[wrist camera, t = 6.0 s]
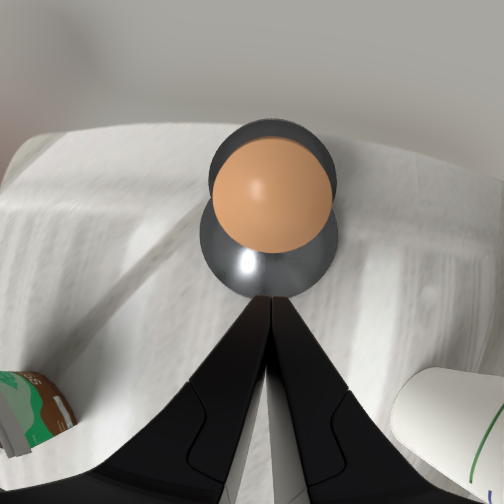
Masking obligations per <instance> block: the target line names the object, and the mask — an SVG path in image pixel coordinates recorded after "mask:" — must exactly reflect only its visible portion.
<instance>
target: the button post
mask: <svg viewBox="0 0 504 504" xmlns="http://www.w3.org/2000/svg"><path fill="white" fill-rule="evenodd" d="M265 136H279V137H285V138H289V139H292V140H294V141H296V142H298V143H300V144H302V145H303V146H305V147H306V148H307V149H308V150H310V151H311V152H312V154H313V155H314V156H315V157H316V158H317V160H318V161H319V163H320V164H321V166H322V167H323V169H324V170H325V172H326V174H327V176H328V179H329V181H330V185H331V190H332V203H333V201H334V198H335V193H336V186H337V178H336V170H335V166H334V163H333V160H332V158H331V156H330V154H329V152H328V150H327V149H326V148H325V146H324V145H323V144H322V142H321V141H320V140H319V139H318V138H317V137H316V136H315V135H314V134H312V133H311V132H310V131H308V130H307V129H306V128H304V127H302V126H301V125H298V124H296V123H294V122H291V121H287V120H283V119H262V120H257V121H254V122H251V123H248V124H246V125H244V126H242V127H240V128H239V129H237V130H236V131H235V132H233V133H232V134H231V135H230V136H229V137H228V138H227V139H226V140H225V141H224V142H223V143H222V144H221V145H220V147H219V148H218V150H217V151H216V153H215V155H214V157H213V160H212V162H211V165H210V170H209V180H208V182H209V191H210V196H211V198H210V200H209V201H208V203H207V205H206V207H205V209H204V212H203V215H202V218H201V223H200V244H201V249H202V252H203V255H204V258H205V260H206V262H207V264H208V266H209V268H210V269H211V270H212V272H213V273H214V275H215V276H216V277H217V278H218V279H219V280H220V281H221V282H222V283H223V284H224V285H225V286H227V287H228V288H229V289H230V290H232V291H234V292H235V293H237V294H239V295H242V296H244V297H246V298H250V299H252V298H253V297H254V296H255V295H269V296H270V297H272V296H286V297H288V298H292V297H294V296H296V295H299V294H301V293H302V292H304V291H306V290H307V289H309V288H310V287H311V286H313V285H314V284H315V283H316V282H318V281H319V279H320V278H321V277H322V276H323V275H324V274H325V272H326V271H327V270H328V268H329V266H330V264H331V262H332V260H333V258H334V255H335V252H336V248H337V242H338V229H337V222H336V218H335V215H334V212H333V210H332V208H331V211H330V214H329V217H328V220H327V221H326V223H325V225H324V227H323V228H322V230H321V231H320V232H319V233H318V234H317V235H316V236H315V237H314V238H313V239H312V240H311V241H309V242H308V243H306V244H305V245H303V246H301V247H299V248H297V249H294V250H291V251H287V252H281V253H265V252H259V251H255V250H252V249H249V248H247V247H245V246H243V245H241V244H239V243H238V242H236V241H235V240H234V239H233V238H231V237H230V236H229V235H228V234H227V233H226V232H225V230H224V229H223V228H222V226H221V225H220V223H219V221H218V219H217V216H216V214H215V211H214V206H213V188H214V183H215V180H216V177H217V175H218V173H219V171H220V169H221V168H222V166H223V165H224V164H225V162H226V161H227V159H228V158H229V157H230V155H231V154H232V153H233V152H234V151H235V150H236V149H237V148H238V147H240V146H241V145H243V144H244V143H246V142H248V141H250V140H253V139H256V138H259V137H265Z"/></svg>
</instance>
